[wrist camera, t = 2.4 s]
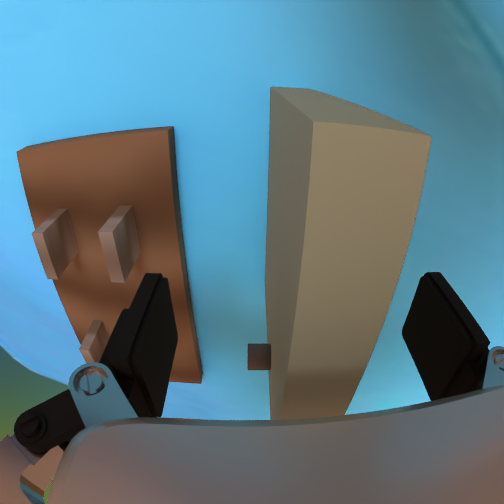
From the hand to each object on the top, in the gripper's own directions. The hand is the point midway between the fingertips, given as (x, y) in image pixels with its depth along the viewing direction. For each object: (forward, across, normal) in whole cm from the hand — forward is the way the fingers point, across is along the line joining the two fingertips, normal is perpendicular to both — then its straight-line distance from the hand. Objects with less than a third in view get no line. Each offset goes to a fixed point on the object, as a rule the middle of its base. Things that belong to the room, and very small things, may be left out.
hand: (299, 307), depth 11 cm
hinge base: (+8, +11, +5) cm, 14 cm away
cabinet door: (+8, 0, -1) cm, 8 cm away
